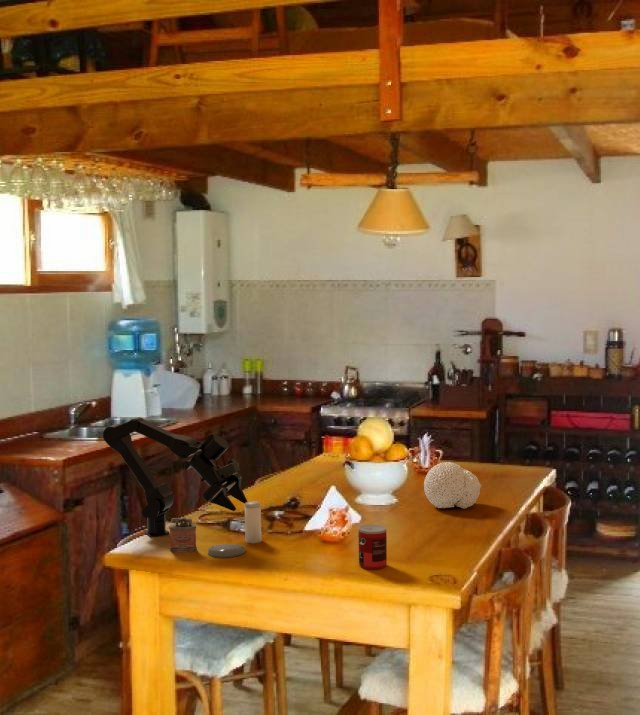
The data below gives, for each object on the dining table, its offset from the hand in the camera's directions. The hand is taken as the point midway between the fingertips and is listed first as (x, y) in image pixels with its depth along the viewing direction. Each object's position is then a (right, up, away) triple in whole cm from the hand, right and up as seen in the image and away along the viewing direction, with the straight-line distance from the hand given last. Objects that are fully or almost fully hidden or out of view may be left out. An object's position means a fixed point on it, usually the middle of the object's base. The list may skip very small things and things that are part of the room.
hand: (241, 506), depth 303 cm
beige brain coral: (+70, -6, +38) cm, 80 cm away
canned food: (+40, -13, -26) cm, 49 cm away
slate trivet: (-3, -12, -11) cm, 17 cm away
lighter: (-17, -12, -9) cm, 22 cm away
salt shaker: (+4, -11, 0) cm, 11 cm away
